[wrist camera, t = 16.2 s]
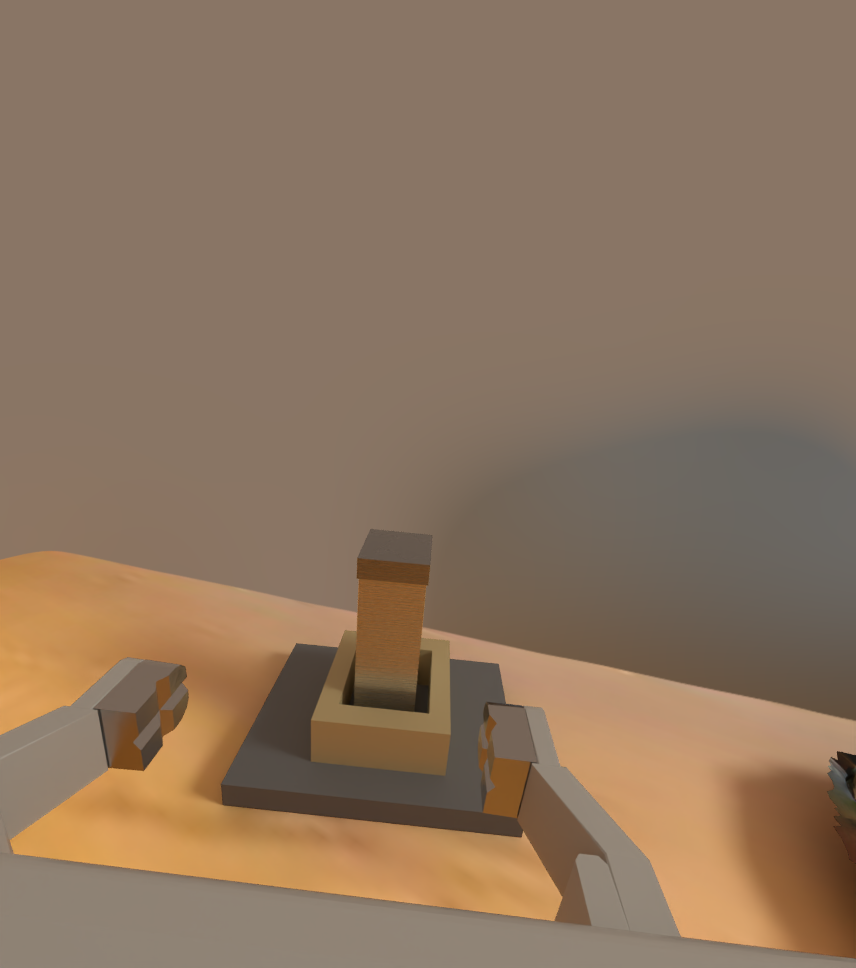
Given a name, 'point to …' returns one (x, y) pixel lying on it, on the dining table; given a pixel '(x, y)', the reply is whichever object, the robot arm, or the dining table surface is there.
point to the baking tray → (845, 798)
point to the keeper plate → (371, 744)
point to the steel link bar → (390, 618)
